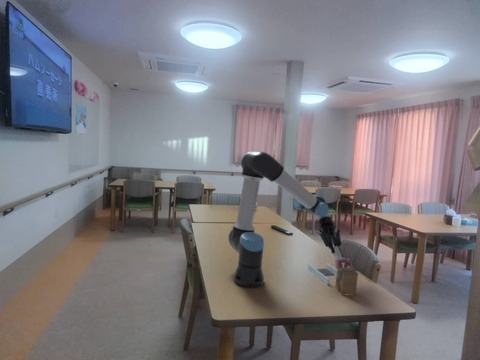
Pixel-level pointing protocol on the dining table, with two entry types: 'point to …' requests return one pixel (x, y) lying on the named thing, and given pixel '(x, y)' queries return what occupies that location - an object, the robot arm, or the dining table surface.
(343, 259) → the video game controller
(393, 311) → the dining table surface
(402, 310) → the dining table surface
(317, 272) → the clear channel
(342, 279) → the walnut block
